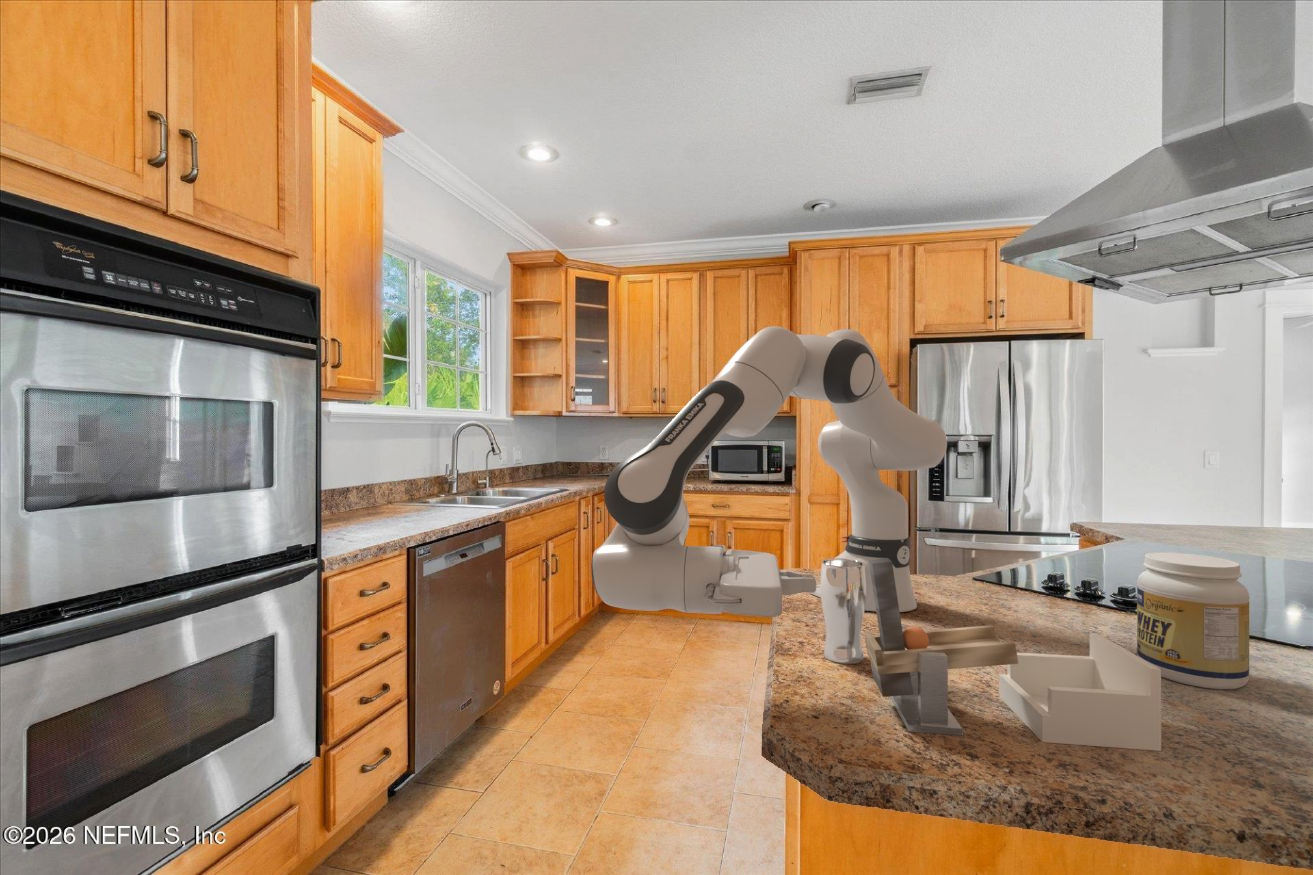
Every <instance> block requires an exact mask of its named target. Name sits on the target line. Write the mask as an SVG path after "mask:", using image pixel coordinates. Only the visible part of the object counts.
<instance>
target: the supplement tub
mask: <svg viewBox="0 0 1313 875" xmlns="http://www.w3.org/2000/svg"><path fill="white" fill-rule="evenodd" d="M1143 566H1144V567H1145V568H1146V570H1145V571H1142V572H1141V573H1140V574H1139V575H1138V577H1137V580H1136V586H1137V587H1136V600H1137V602H1136V604H1137V605H1136V616H1137V617H1136V618H1137V619H1136V626H1137V627H1136V651H1137V652H1136V656H1138V657H1140V658H1142V659H1143V660H1145V661H1147V662H1149V663H1150V664H1152V665H1154V666H1156V667H1157V668H1159V669H1161V678H1164V679H1166V680H1170V681H1173V682H1176V683H1180V684H1184V685H1189V686H1193V687H1198V688H1206V689H1213V690H1234V689H1240V688H1241V687H1244V686H1245V685H1246V684H1247V683H1248V681H1249V679H1250V600H1251V599H1250V592H1249V591H1248V588H1247V587H1246V586H1245V585H1244V584H1243V583H1241V582H1240V581H1238V580H1239V578H1241V577H1242V573H1241V564H1240V563H1238V562H1236V561H1233V560H1230V559H1225V558H1220V557H1216V556H1210V555H1209V556H1208V555H1201V554H1200V555H1199V554H1195V553H1194V554H1193V553H1184V552H1160V551H1159V552H1149V553H1146V554H1145V555H1144V562H1143Z"/></svg>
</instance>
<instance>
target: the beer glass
mask: <svg viewBox="0 0 1313 875" xmlns="http://www.w3.org/2000/svg"><path fill="white" fill-rule="evenodd" d="M820 568H821V569H820V580H819V583H820V593H821V598H820V600H821V609H822V614H823V618H824V619H823V620H824V625H825V642H824V647H823V657H824V658H825V659H827V660H828V661H831V662H833V663H837V664H843V665H855V664H859V663H861V662H863V661H864V657H865V656H864V651H863V646H862V636H861V635H862V627H863V620H864V615H865V611H866V610H865V603H866V576H865V564H864V563H863V562H861V561H858V560H852V559H841V558H836V557H834V558H826V559H823V560H821V567H820Z"/></svg>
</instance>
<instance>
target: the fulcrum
mask: <svg viewBox="0 0 1313 875" xmlns="http://www.w3.org/2000/svg"><path fill="white" fill-rule="evenodd" d="M908 627H912V626H907V625H906V626H905V625H902V631H904V630H905V629H906V628H908ZM918 627H919V628H921V629H923V630H924V628H923V627H922V626H918ZM948 672H949V669H948V657H947V655H946V654H945V653H936V652H918V671H916V672H910V676H911V682H912V689H913V695H903V696H889V698H890V699H891V702H892V704H893V706H894V707H895V710H896V711H897V713H898V715H899V717H900V718H901V720H902V722H903V724H904V726H905V729H906V730H907V732H910V733H911V732H912V733H921V734H938V735H949V736H950V735H951V736H963V731H964V730H963V728H962V725H961V724H960V723H959V722H958V720H957V719H956V717H955V715H953V713H952V712H951V711H950V709H949V708H948V707H949V701H948V700H949V696H948V695H949V690H948V689H949V688H948V687H949V686H948V685H949V684H948V682H949V680H948V674H949V673H948Z"/></svg>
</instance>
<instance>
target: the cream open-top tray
mask: <svg viewBox="0 0 1313 875" xmlns="http://www.w3.org/2000/svg"><path fill="white" fill-rule="evenodd" d="M1017 658H1018V664H1009V665H1006V674H1005V673H1001V674H1000V673H998V685H999V686H998V697H999V698H1000V700H1001V701H1003V702H1004V703H1005V705H1007V707H1008V708H1009V709H1011V711H1012V712H1014V714H1015V715H1016V716H1017V717H1018V718H1019V719H1020V720H1021V721H1022V723H1024V724H1025V725H1026V726H1027V727H1028V728H1029V730H1030V731H1032V732H1033V734H1034V735H1035V736H1036V737H1037V738H1038V739H1039V740H1040V741H1041V742H1042V743H1046V744H1047V743H1049V744H1050V743H1051V744H1065V745H1078V746H1088V747H1089V746H1091V747H1092V746H1093V747H1103V748H1104V747H1105V748H1115V749H1116V748H1118V749H1131V750H1141V751H1142V750H1145V751H1158V752H1161V751H1162V677H1161V669H1159V668H1157V667H1156V666H1154V665H1152V664H1150V663H1149V662H1147V661H1145V660H1143V659H1142V658H1140V657H1138V656H1137V654H1134V653H1132V652H1131V651H1130V650H1128V649H1126V648H1124V647H1122V646H1120V645H1118V644H1117V643H1115V642H1113V641H1111V640H1109V639H1108V638H1106V637H1104V636H1103V635H1101V634H1099V633H1089V655H1069V654H1048V653H1035V652H1034V653H1029V652H1017Z"/></svg>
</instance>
